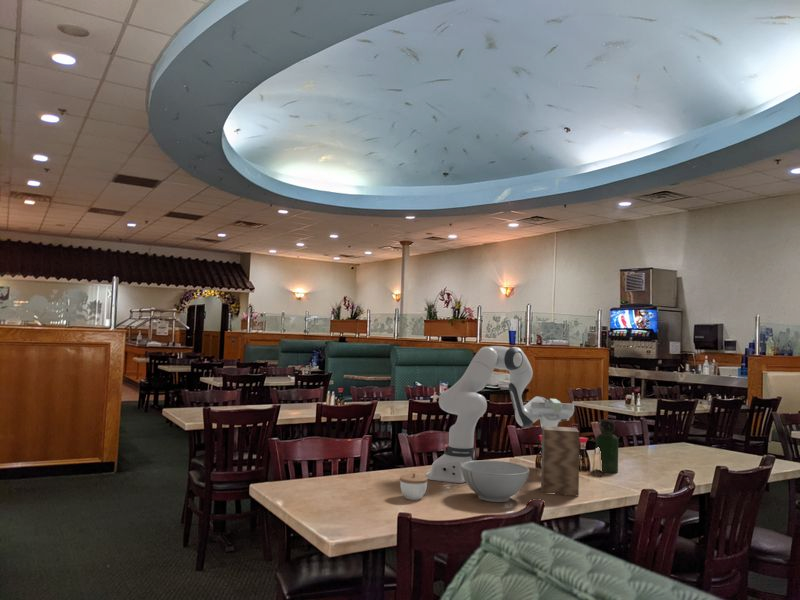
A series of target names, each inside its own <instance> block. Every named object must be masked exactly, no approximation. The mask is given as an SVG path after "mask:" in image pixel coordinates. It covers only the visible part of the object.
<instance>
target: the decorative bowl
mask: <svg viewBox="0 0 800 600" xmlns="http://www.w3.org/2000/svg"><path fill="white" fill-rule="evenodd" d="M461 470H462V474H463V477H464V479H465V481H466V482H465V483H466V484H467V486H468V487H469V488H470V489H471V491H473V492H474V493H475V494H476V495H477V498H478V499H479V500H482V501H485V502H491V503H492V502H493V503H505V502H509V501H510V499H511V498H512V497H513V496H515V495H516V494H517V493H518V492H520V490H521V489H522V488H523V487H524V486H525V484H526V482H527V480H528V477H529V474H530V468H528V467H527V466H525V465H523V464H518V463H515V462H509V461H501V460H474V461H469V462H465V463H463V464H461Z"/></svg>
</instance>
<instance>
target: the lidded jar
mask: <svg viewBox="0 0 800 600" xmlns="http://www.w3.org/2000/svg"><path fill="white" fill-rule="evenodd" d="M399 480H400V482H399V485H400V491H401V493H402V496H404V497H405V499H406V500H410V501H417V500H421V499H422V497H424V496H425V494H426V491H427V487H428V480H429V479H428V478H427V477H426V475H420V474H416V473H415V472H413V473H412V474H403V475H401V476H400V477H399Z"/></svg>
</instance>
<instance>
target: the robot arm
mask: <svg viewBox="0 0 800 600" xmlns="http://www.w3.org/2000/svg"><path fill="white" fill-rule="evenodd" d="M495 369H498V370H503V371H505V370H506V371H508V373H509V378H510V379H509V385H508V392H509V395H510V400H511V404H512V407H513V411H514V412H513V413H514V419H515V421H516V423H517V424H518V425H519V426H520V427H522V428H530V427H531V426H532V425H533V424H534V423H536V422H537V421H540V427H541V428H542V426H553V427H558V425H559V423H560V422H565V421H570V420H571V419H570V418H571V417H573V415H574V413H575V404H574V403H568V402H567V403H566V402H565V403H563V402H561V400H558V401H559V402H560V403H561V412H553V410H552V409H551V408H550V399H547V398H545V397H543V396H539V395H536V396H534V397H533V398H532V399H531V400H529V401H528V402H526V404H524V403H523V398H522V395H523V393H524V391H525V389H526V387H527V386H528V385H529V384H530V382H531V381H532V379H533V374H534V372H533V368H532V365H531V362H530V361H529V359H528V357H527V355H526V354H525V352H524V351H523V349H522V348H520V347H518V346H513V347H509V346H503V345H488V346H483V347H481V348H480V349H479V350H477V352H476V353H475V355H474V356H473V358H472V359H471V361H470V363H469V365H468V367H467V368H466V370H465V371H464V373H463V375H462V376H461V378H459V379H458V381H456V382H455V383H454V384H453V385H451V387H449V388H447V389H446V390H444V391H442V392H441V393H440V395H439V396H438V405H439V408H440V409H441V410H442V411H444V412H446V413H448V414H451V415H456V416H457V418H456V421H455V423H454V424H452V425H451V426H450V427H449V428H448V429H449V430H448V445H447V444H445V445H444V446H443V454H442V455H441V456H440V457H439V456H438V458H436V459H435V460H434V461H433V463H432V464H431V468H430V471H428V472H426V474H425V477H427V478H428V480H431V481H439V482H447V483H453V484H454V483H456V484H463V483H466V481H465V479H464V477H463V474H462V470H461V464H463V463H465V462H469V461H475V454H476V453H475V451H476V450H475V447H474V442H475V430H476V426H477V423H478V421H479V419H480V418H481V417H482V416H484V414H486V412H487V408H488V402H487V399H486V396H484V395H483V394H480V393H478V392H480V391H481V390H482V391H483V389H484V388H485V387H486V386H487V384H488V382H489V380H490V378H491V376H492V374H493V372H494V370H495Z"/></svg>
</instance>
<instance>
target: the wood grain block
mask: <svg viewBox="0 0 800 600" xmlns="http://www.w3.org/2000/svg"><path fill="white" fill-rule="evenodd" d="M540 472H541V475H540V478H541V479H540V481H541V482H540V487H541V490H543V491H542V494H543V493H555V494H566V495H565V496H567V495H578V496H579V490H580V489H579V487H580V483H579V481H580V480H579V479H580V431H579V430H578V428H576V427H568V426H567V427H566V426H557V427H553V426H542V427H541V471H540Z"/></svg>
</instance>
